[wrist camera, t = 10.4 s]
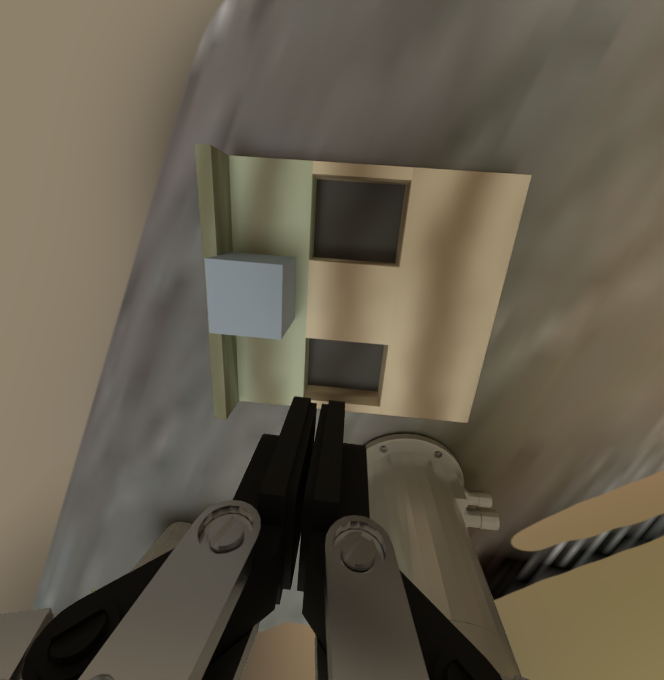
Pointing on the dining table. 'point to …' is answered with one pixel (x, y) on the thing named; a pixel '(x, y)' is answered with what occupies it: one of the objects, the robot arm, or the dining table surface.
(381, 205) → the board
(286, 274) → the block
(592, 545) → the dining table surface
